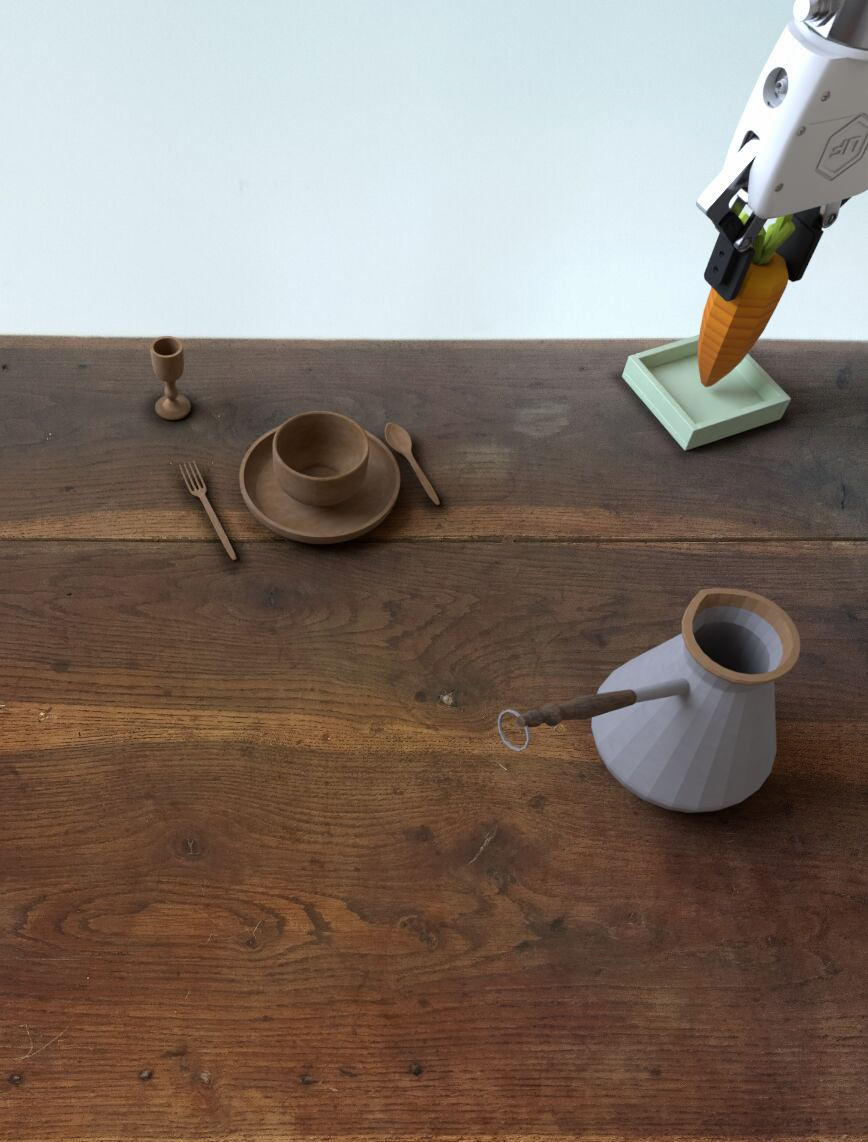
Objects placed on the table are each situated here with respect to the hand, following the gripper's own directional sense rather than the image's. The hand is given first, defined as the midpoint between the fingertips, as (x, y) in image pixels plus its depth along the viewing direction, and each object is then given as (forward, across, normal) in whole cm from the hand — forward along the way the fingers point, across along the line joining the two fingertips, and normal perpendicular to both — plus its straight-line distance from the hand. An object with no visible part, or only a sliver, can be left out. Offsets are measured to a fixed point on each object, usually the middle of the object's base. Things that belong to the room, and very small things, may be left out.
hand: (752, 277), depth 77 cm
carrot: (+10, 0, 0) cm, 10 cm away
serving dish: (+11, 0, 0) cm, 11 cm away
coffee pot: (+11, -26, -28) cm, 40 cm away
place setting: (+11, -33, +6) cm, 35 cm away
